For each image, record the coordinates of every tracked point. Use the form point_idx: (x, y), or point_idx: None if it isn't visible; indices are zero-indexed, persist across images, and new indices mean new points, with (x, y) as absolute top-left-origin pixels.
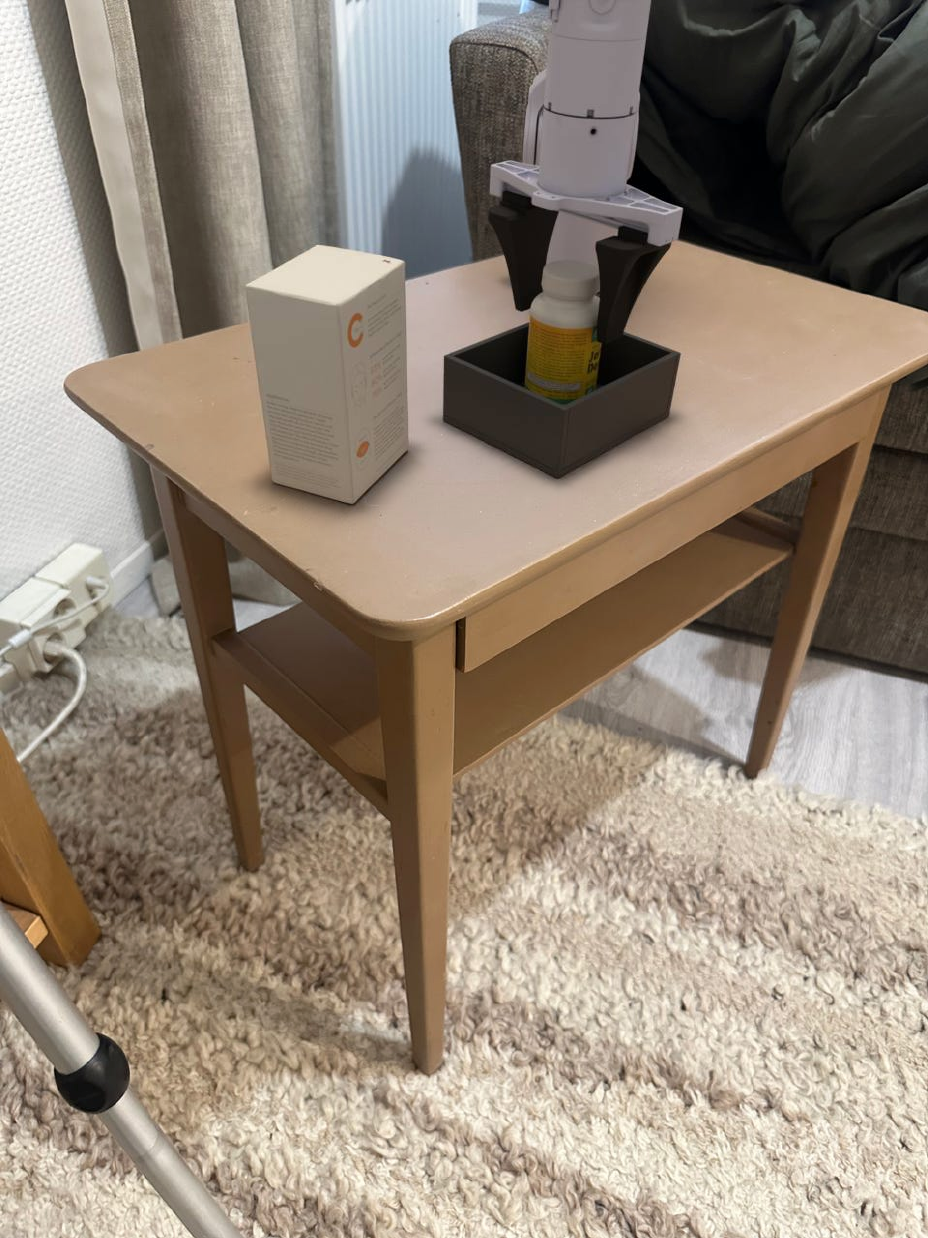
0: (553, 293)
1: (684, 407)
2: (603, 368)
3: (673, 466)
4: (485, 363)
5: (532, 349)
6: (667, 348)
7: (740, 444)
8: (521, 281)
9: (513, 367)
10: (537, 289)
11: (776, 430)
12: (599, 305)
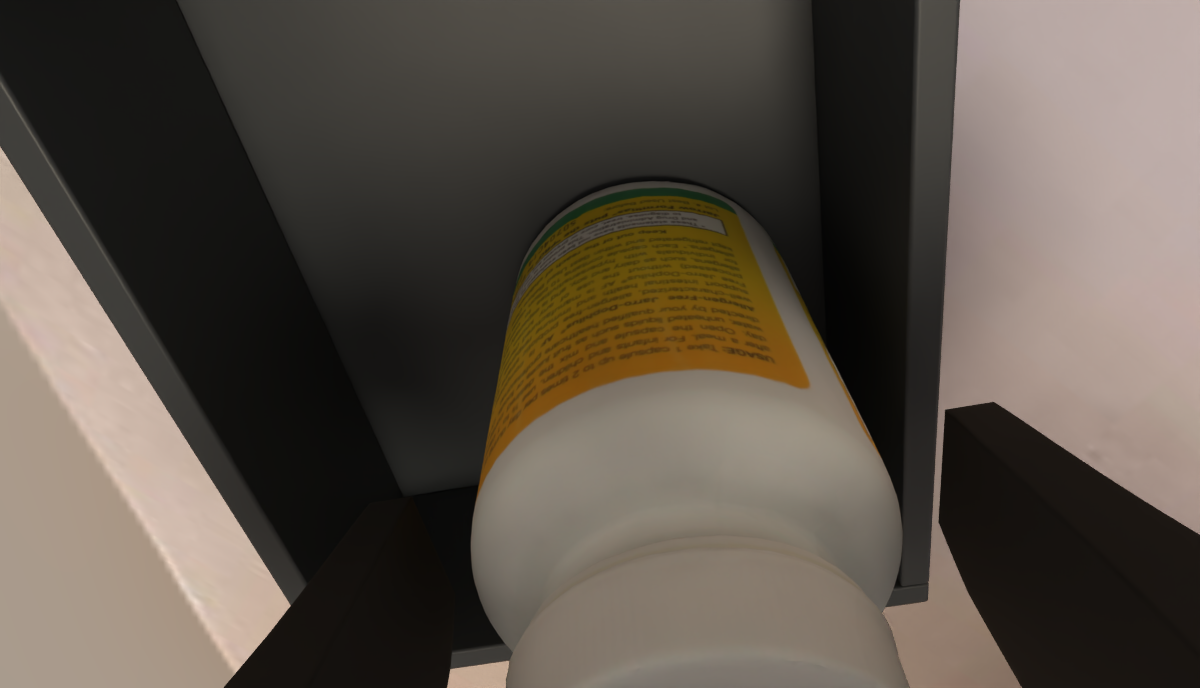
0: (653, 553)
1: None
2: None
3: (103, 333)
4: (870, 61)
5: (705, 278)
6: None
7: (178, 544)
8: (1045, 530)
9: (844, 234)
10: (981, 573)
11: (220, 641)
12: (318, 649)
